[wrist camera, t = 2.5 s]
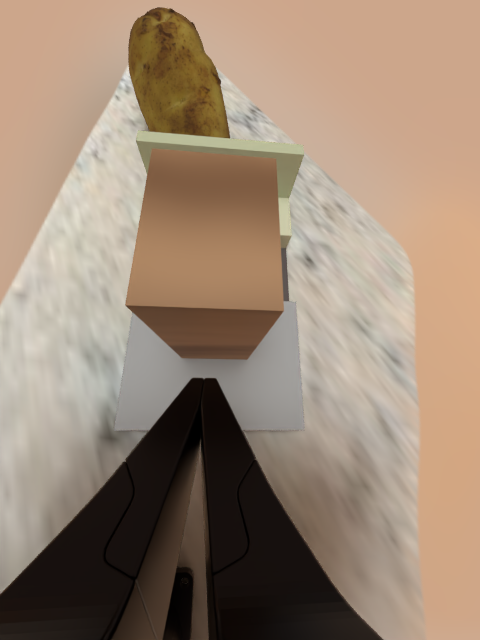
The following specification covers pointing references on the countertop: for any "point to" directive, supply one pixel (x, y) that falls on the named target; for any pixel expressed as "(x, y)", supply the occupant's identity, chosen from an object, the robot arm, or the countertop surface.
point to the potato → (175, 77)
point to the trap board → (232, 374)
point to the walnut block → (208, 253)
